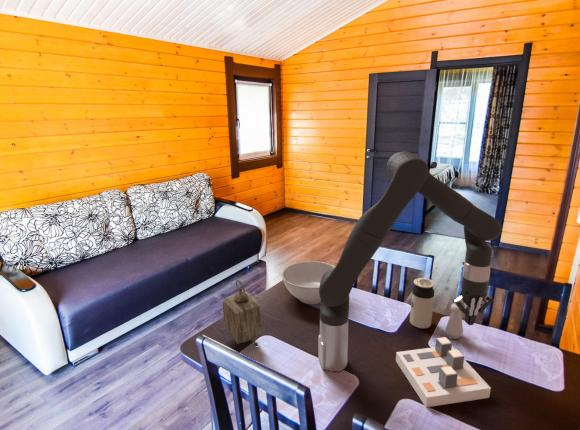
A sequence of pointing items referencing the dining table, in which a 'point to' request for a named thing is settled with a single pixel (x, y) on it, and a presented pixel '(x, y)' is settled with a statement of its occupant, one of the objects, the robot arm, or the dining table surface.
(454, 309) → the salt shaker
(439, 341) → the knob far
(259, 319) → the brown wooden lantern
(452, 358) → the knob mid
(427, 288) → the travel mug
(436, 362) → the tray
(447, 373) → the grey block
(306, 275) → the decorative bowl
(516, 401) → the dining table surface
